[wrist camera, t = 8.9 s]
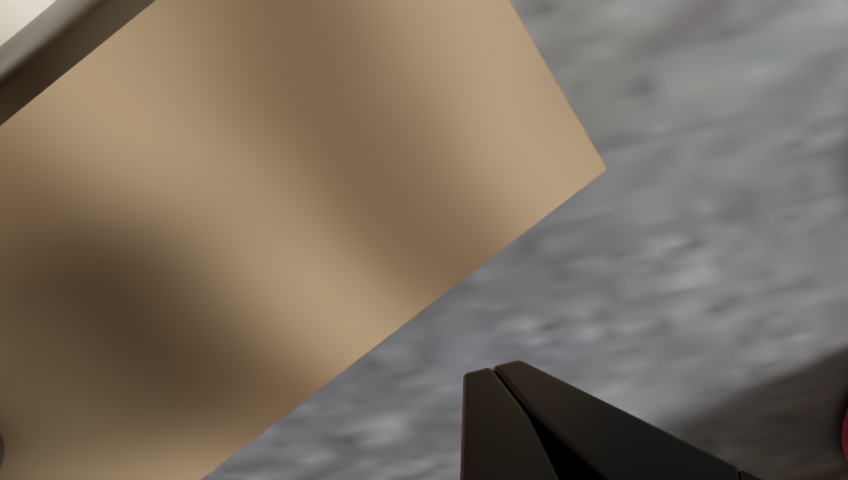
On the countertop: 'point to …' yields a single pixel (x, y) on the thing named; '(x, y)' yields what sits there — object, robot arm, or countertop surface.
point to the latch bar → (1, 450)
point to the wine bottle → (845, 435)
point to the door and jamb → (245, 207)
